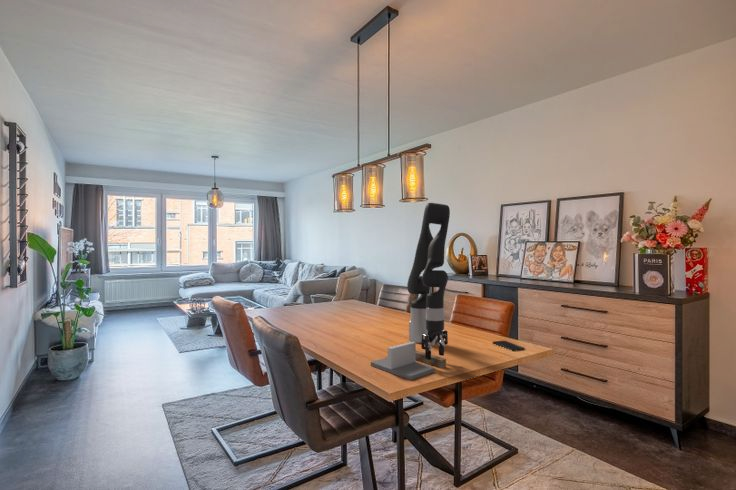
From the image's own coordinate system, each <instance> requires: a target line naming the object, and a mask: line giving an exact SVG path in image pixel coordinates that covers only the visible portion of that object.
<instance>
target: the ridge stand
mask: <svg viewBox="0 0 736 490" xmlns="http://www.w3.org/2000/svg"><path fill="white" fill-rule="evenodd" d="M416 345H417V344H416V343H415V342H412V341H408V342H405V343H401V344H397V345H394V346H390V347H389V346H388V347H387V357H384V358H379V359H378V360H373V361H371V362H370V366H371V367H374V368H377V369H379V370H381V371H385V372H387V373H390V374H393V375H396V376H398V377H401V378H404V379H406V380H409V381H414V380H415V379H418V378H420V377H423V376H427V375H429V374H433V373H435V370H436V369H435V368H436V367H434V366H431V365H428V364H425V363H420V362H418V361H416V351H417V350H416V347H417V346H416Z"/></svg>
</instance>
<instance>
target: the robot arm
mask: <svg viewBox="0 0 736 490" xmlns="http://www.w3.org/2000/svg"><path fill="white" fill-rule="evenodd" d="M450 212H451V210H450V207H449V205H447V204H443V203H435V202H427V203H426V205H425V207H424V211H423V219H422V222H421V223H422V225H421V230H420V234H419V239H418V242H417V244H416V250H415V253H414V254H415V255H414V260H413V262H412V268H411V270H410V273H409V276H408V279H407V285H406V286H407V287H406V289H407V292H408V293H409V294H410V295H419V296H418V297H417V298H416V299H413V300H411V301H410V321H409V322H408V340H409V341H410V342H415V343H417V344H421V346H420V347H421V350H425V352H424V353H425V357H426V359H428V360H431V355H432V348H433V347H434V346H435V344H438V355H439V356H441V357H443V356H444V355H445V347H446V345H448V344H449V342H448V341H449V339H448V336H449V335H448V330H446V329H445V310H444V303H445V301H444V297H445V291H446V288H447V285H448V280H449V274H448V273H447V271H445V270H443V269H438V268H440V267H443V266H444V264H445V248H446V247H445V246H446V240H447V235H448V229H449V222H450V214H451V213H450ZM432 224H433V225H439V226H440V229H439V231H438V232H437V233H436V235H435V236H434V237H433V235H432V233H431V228H430V225H432ZM435 269H436V270H435ZM422 272H423V273H422ZM421 274H422V275H421ZM431 288H438V290H437V291H434V292H431Z"/></svg>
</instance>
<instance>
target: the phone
mask: <svg viewBox="0 0 736 490" xmlns="http://www.w3.org/2000/svg"><path fill="white" fill-rule="evenodd" d="M492 344H493V345H495V344H496V345H495V346H497V345H498V346H497V347H500V346H501V348H502V347H504V348H503V349H505V348H506V350H508V349H509V350H508V351H510V350H512V351H511V352H516V350H520V351H525V350H524V349H526V348H525V346H524V347H523V346H521V345H518V344H516V343H512V342H510V341H506V340H497V341H492Z"/></svg>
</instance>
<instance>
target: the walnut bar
mask: <svg viewBox="0 0 736 490" xmlns="http://www.w3.org/2000/svg"><path fill="white" fill-rule="evenodd" d="M416 362H419V363H420V362H421V363H422V364H425V365H428V366H431V367H435V368H439V369H444V368H446V367H447V359H446V358H444V357H442V356H441V357H440V356H437V355H434V354H431V360H428V359H426V357H425V352H422V351H421V350H416Z"/></svg>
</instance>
